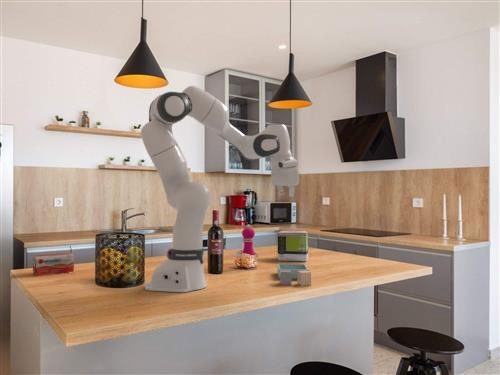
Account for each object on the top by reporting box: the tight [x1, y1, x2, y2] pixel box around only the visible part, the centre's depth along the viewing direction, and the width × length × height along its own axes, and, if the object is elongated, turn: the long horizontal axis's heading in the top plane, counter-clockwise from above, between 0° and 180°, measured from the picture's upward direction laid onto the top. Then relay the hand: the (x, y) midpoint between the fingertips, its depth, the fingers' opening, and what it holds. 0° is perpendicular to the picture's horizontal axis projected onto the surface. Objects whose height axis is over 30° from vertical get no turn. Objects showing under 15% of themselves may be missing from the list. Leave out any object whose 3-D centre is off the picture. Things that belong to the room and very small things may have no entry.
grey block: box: [279, 270, 292, 286], centre depth 158 cm, size 4×4×5 cm
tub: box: [277, 263, 310, 281], centre depth 172 cm, size 12×13×4 cm
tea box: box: [276, 230, 309, 262], centre depth 214 cm, size 15×10×15 cm
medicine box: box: [32, 252, 75, 277], centre depth 177 cm, size 15×8×8 cm, turn 125°
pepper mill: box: [241, 224, 256, 255], centre depth 192 cm, size 7×7×20 cm
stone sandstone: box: [296, 270, 312, 287], centre depth 157 cm, size 4×4×5 cm
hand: (286, 196), depth 170 cm, fingers open, 8 cm apart
